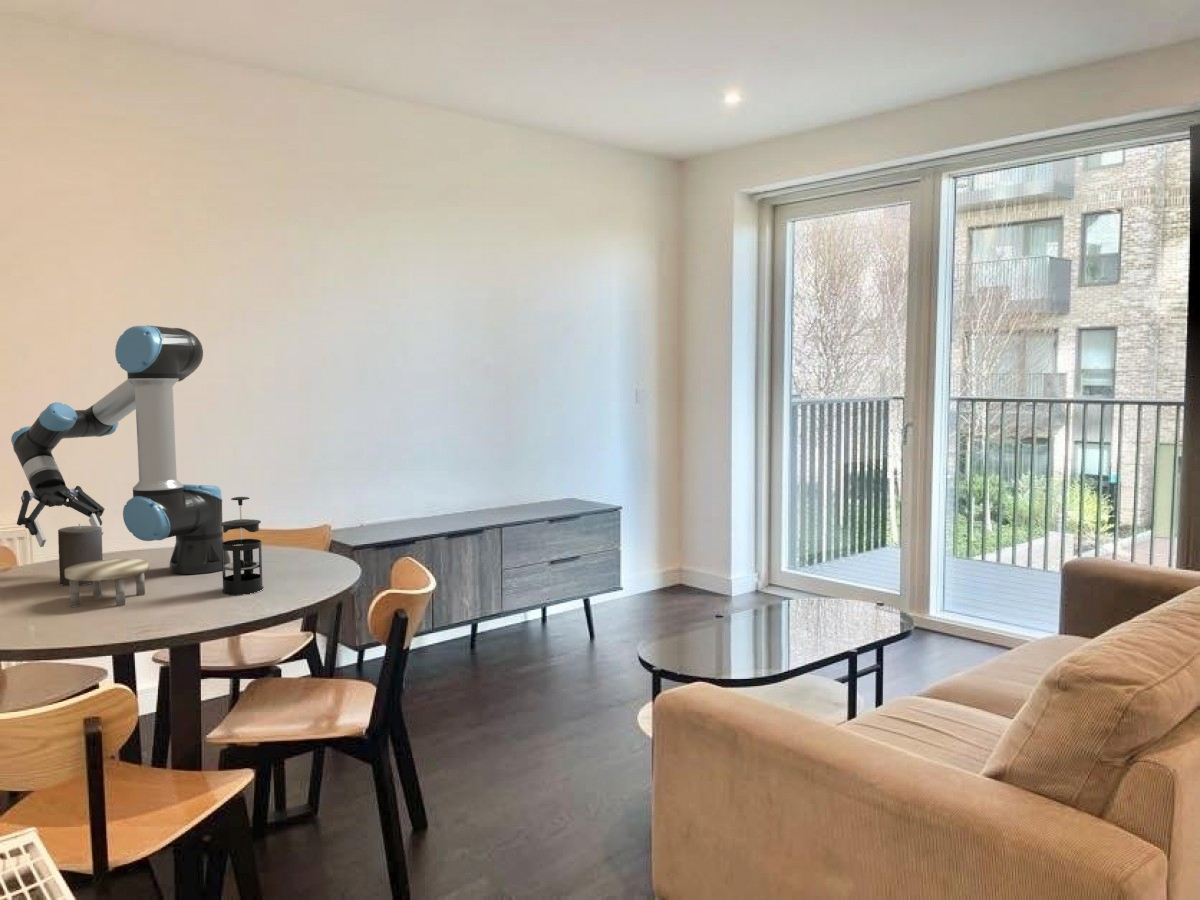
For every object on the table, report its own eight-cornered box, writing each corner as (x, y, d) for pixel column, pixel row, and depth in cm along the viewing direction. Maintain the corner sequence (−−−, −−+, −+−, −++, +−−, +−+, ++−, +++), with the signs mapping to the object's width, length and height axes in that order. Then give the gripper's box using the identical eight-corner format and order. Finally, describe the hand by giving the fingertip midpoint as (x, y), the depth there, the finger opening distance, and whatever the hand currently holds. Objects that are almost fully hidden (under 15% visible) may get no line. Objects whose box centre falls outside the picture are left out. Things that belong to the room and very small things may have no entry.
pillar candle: (50, 585, 217) (48, 526, 215) (74, 577, 226) (72, 520, 225) (90, 586, 217) (88, 527, 216) (111, 577, 227) (110, 520, 225)
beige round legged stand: (162, 590, 212) (160, 558, 211) (129, 608, 195) (127, 573, 194) (89, 591, 211) (88, 559, 210) (50, 610, 194) (48, 574, 193)
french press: (257, 595, 207) (254, 499, 206) (215, 596, 206) (212, 500, 205) (269, 584, 219) (267, 493, 217) (230, 585, 218) (227, 494, 216)
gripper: (90, 482, 242) (118, 541, 234) (-14, 491, 222) (13, 556, 214) (98, 464, 238) (127, 523, 231) (-7, 471, 218) (21, 537, 211)
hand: (72, 539), depth 222 cm, fingers open, 13 cm apart
